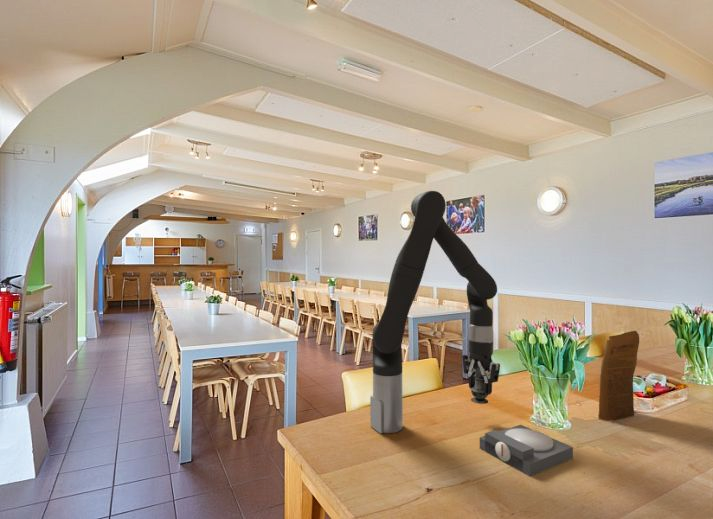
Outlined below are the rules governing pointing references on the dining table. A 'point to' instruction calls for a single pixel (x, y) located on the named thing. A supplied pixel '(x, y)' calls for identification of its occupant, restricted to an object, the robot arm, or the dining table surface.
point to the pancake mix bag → (618, 376)
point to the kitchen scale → (526, 449)
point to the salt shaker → (479, 389)
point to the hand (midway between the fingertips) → (479, 391)
